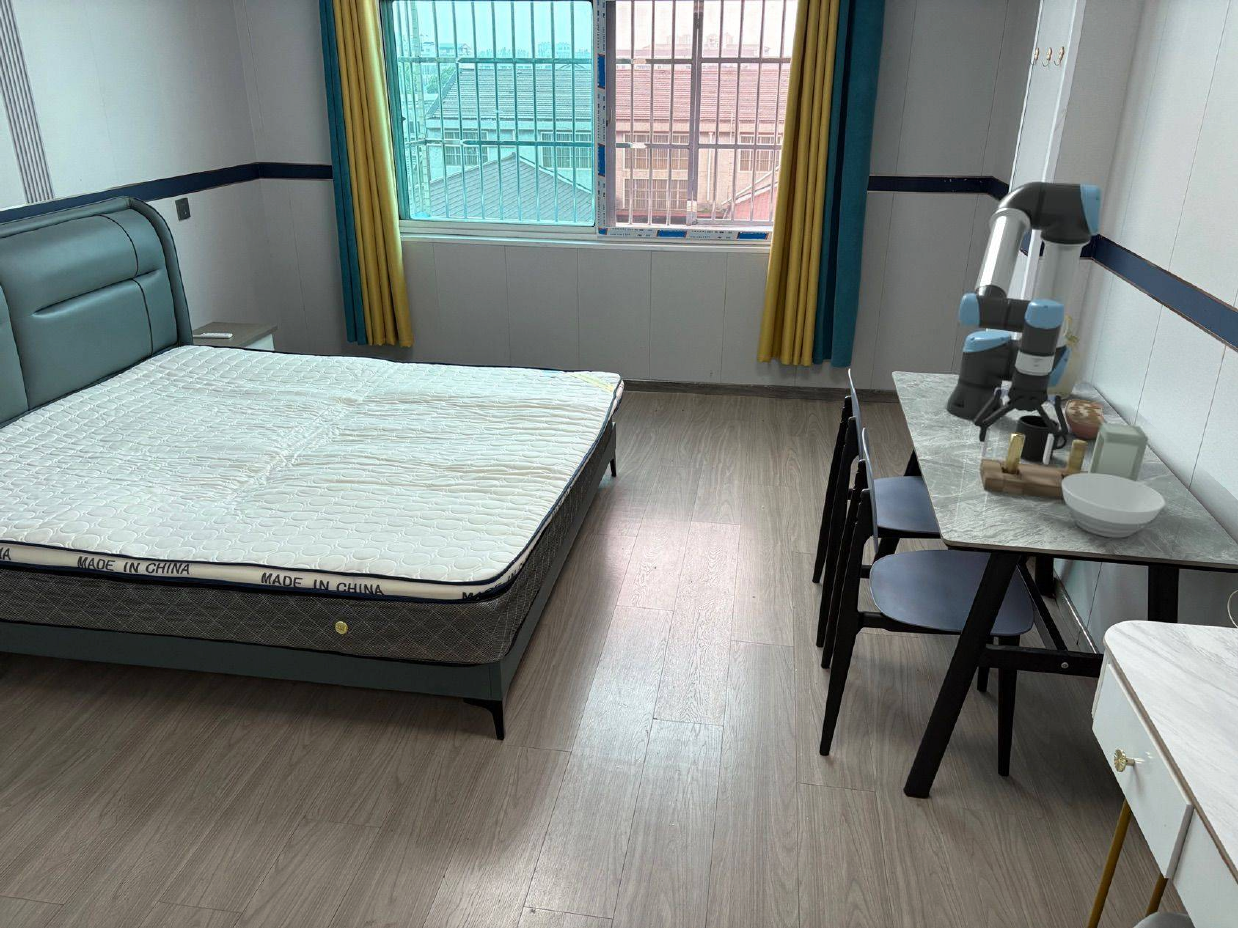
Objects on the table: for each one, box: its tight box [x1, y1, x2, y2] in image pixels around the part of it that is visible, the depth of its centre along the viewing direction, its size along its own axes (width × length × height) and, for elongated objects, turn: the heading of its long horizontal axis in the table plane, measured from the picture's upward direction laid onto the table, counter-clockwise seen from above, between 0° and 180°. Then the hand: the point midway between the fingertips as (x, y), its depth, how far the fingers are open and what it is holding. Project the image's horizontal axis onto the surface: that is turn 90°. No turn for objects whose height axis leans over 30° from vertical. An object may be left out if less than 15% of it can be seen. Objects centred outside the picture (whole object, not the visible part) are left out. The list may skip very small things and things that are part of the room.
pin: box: [1003, 432, 1025, 475], centre depth 209 cm, size 3×3×12 cm
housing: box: [1087, 422, 1149, 482], centre depth 203 cm, size 8×8×13 cm
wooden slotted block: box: [979, 439, 1089, 501], centre depth 207 cm, size 12×30×12 cm, turn 74°
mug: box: [1015, 414, 1068, 462], centre depth 226 cm, size 9×12×9 cm
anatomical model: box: [1064, 399, 1109, 440], centre depth 246 cm, size 23×10×5 cm, turn 159°
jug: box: [1047, 313, 1083, 401], centre depth 270 cm, size 15×16×25 cm
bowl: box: [1062, 473, 1166, 539], centre depth 190 cm, size 20×20×8 cm
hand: (1013, 458), depth 209 cm, fingers open, 13 cm apart
